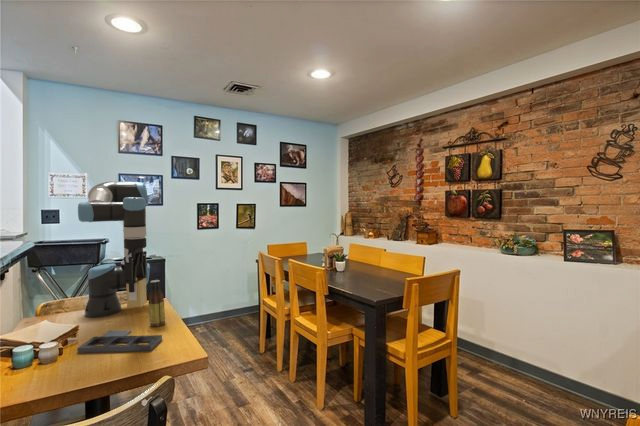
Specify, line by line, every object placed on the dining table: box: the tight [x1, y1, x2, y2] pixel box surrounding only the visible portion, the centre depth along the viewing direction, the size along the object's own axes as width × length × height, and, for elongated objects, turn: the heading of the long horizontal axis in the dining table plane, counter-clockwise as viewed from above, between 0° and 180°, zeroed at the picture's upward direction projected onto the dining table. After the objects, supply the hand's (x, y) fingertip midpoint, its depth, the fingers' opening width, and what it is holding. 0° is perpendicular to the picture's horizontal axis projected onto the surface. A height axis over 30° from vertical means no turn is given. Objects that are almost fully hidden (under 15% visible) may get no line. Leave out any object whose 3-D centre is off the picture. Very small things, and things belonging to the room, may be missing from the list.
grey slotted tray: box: [76, 334, 163, 354], centre depth 128 cm, size 10×26×2 cm, turn 93°
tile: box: [100, 329, 132, 337], centre depth 138 cm, size 9×9×1 cm
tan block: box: [126, 278, 148, 308], centre depth 130 cm, size 5×5×10 cm
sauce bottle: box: [148, 279, 166, 328], centre depth 150 cm, size 7×6×20 cm
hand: (136, 297), depth 130 cm, fingers closed on tan block, 5 cm apart
